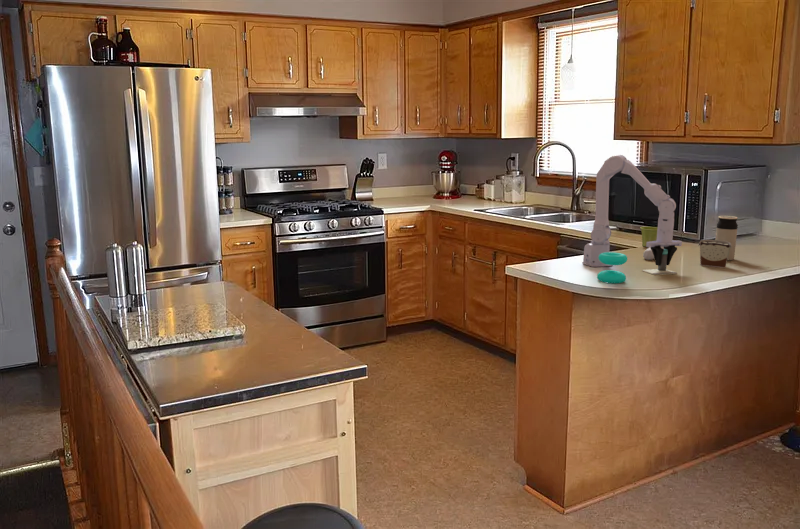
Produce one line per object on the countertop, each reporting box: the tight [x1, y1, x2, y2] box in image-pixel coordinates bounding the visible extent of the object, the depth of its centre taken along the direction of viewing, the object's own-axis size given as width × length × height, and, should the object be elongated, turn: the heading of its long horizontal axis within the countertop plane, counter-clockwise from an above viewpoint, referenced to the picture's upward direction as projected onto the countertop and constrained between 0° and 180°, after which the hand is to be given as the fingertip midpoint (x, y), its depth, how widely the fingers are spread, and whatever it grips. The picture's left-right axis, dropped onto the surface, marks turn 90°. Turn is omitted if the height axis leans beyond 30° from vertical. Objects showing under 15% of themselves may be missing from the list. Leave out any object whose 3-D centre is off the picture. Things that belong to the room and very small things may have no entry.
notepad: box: [641, 268, 678, 276], centre depth 274 cm, size 10×8×1 cm
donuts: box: [596, 251, 628, 284], centre depth 257 cm, size 10×10×10 cm
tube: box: [642, 247, 664, 261], centre depth 309 cm, size 5×5×25 cm
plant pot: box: [639, 226, 658, 247], centre depth 332 cm, size 9×9×9 cm
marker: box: [657, 249, 668, 271], centre depth 276 cm, size 3×3×8 cm
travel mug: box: [714, 215, 738, 261], centre depth 302 cm, size 8×8×18 cm
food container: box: [698, 239, 732, 269], centre depth 289 cm, size 12×6×10 cm, turn 59°
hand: (662, 264), depth 277 cm, fingers open, 3 cm apart
